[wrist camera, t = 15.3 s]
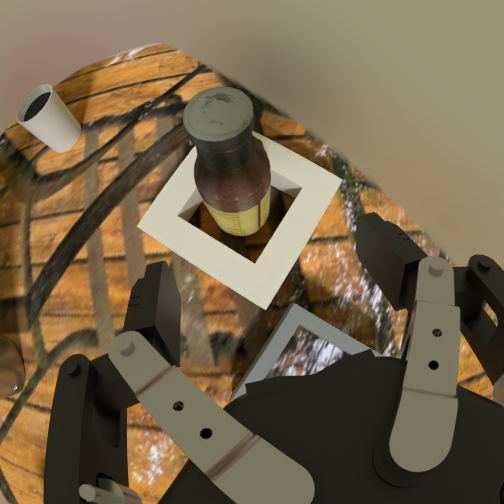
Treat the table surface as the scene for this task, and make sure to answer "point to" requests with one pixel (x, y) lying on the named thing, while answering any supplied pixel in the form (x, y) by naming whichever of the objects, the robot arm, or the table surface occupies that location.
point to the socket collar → (225, 259)
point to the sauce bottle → (229, 159)
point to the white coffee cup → (49, 119)
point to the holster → (282, 336)
